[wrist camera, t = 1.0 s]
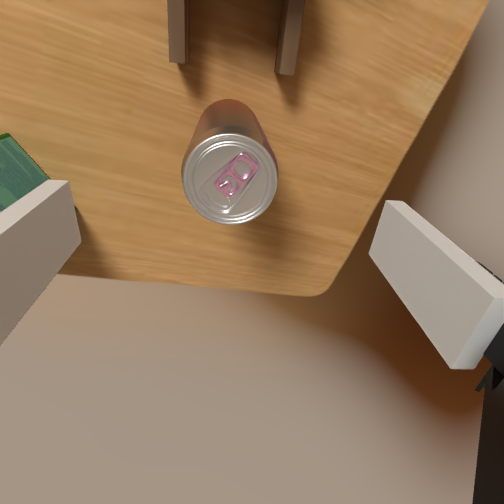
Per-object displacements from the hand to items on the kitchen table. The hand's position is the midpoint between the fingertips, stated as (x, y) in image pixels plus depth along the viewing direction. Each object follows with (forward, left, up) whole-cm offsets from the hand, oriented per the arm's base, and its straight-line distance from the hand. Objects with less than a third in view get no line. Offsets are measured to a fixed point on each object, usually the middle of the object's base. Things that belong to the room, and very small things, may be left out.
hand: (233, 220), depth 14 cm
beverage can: (0, 0, -21) cm, 21 cm away
